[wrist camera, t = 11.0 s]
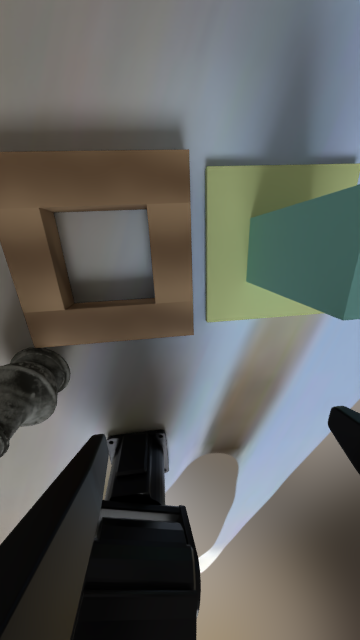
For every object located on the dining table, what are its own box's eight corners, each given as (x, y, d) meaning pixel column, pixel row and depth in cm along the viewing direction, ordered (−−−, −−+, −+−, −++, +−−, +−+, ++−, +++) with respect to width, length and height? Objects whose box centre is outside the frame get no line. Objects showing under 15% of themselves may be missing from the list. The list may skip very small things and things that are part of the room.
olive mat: (324, 310, 20) (329, 312, 20) (205, 320, 19) (207, 322, 19) (354, 166, 16) (361, 163, 16) (205, 169, 15) (207, 166, 15)
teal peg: (300, 278, 18) (449, 311, 9) (246, 281, 18) (343, 320, 8) (310, 215, 17) (508, 175, 7) (250, 218, 16) (376, 179, 7)
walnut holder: (190, 326, 19) (193, 334, 18) (47, 337, 18) (34, 348, 17) (185, 161, 15) (189, 149, 13) (-4, 164, 14) (-29, 152, 12)
